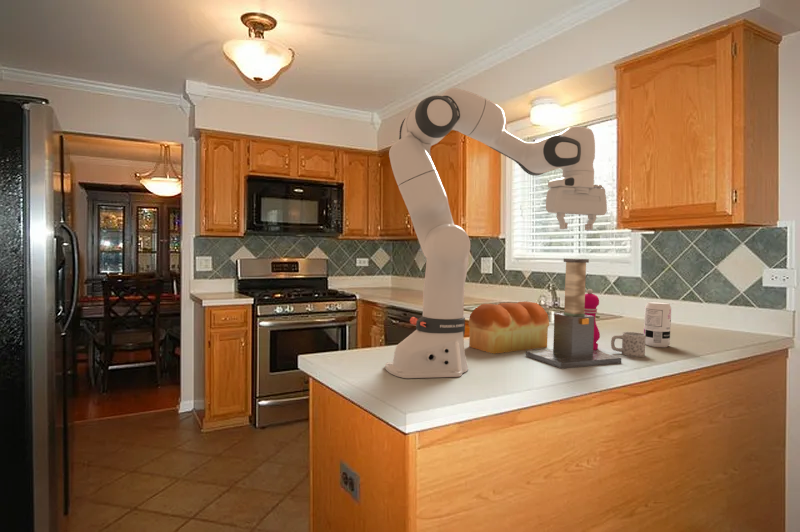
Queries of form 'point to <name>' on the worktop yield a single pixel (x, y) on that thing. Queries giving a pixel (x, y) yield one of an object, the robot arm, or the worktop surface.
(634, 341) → the mug
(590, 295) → the pink tall rounded piece
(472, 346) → the bread
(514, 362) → the worktop surface
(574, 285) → the column
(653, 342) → the supplement can
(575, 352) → the stand
